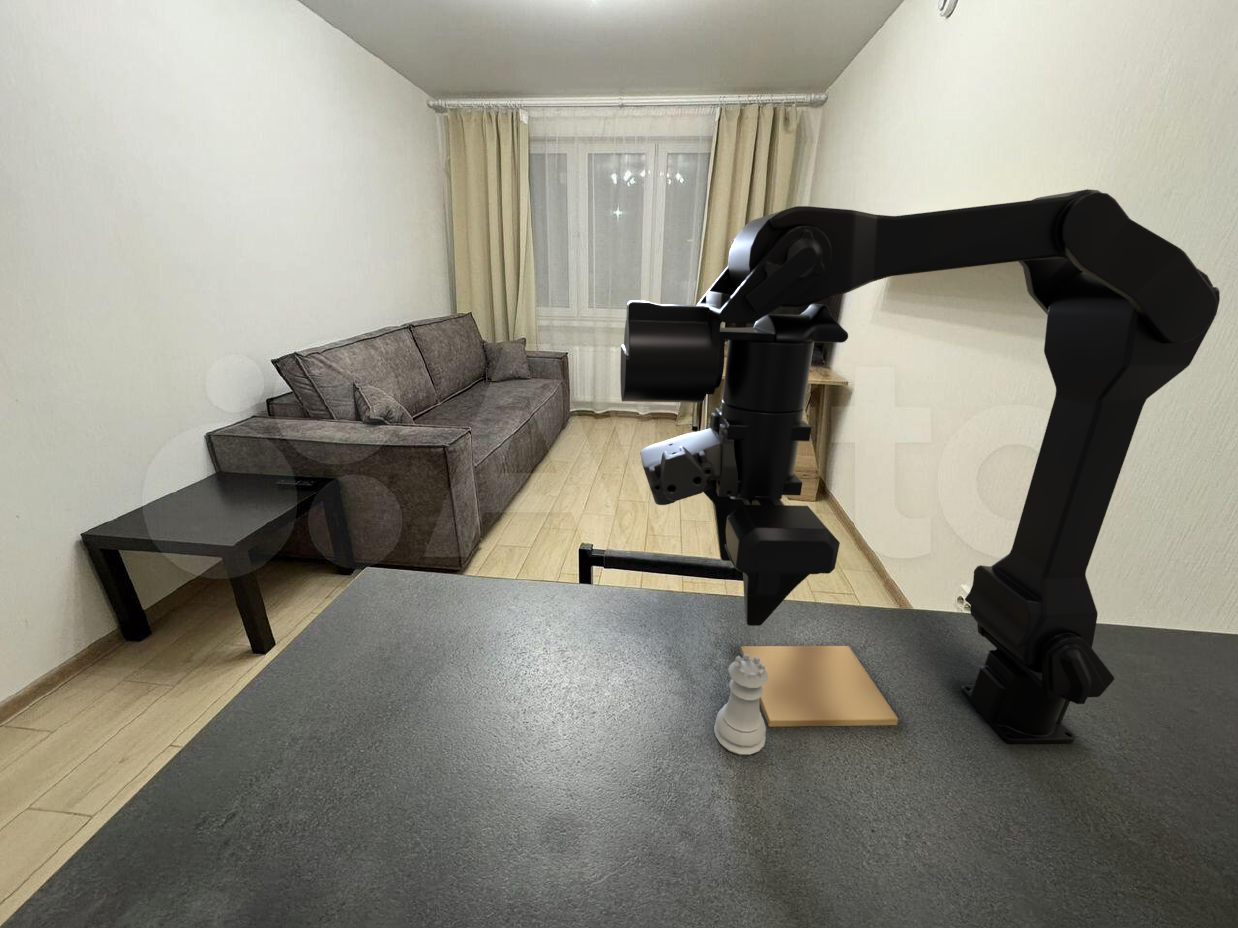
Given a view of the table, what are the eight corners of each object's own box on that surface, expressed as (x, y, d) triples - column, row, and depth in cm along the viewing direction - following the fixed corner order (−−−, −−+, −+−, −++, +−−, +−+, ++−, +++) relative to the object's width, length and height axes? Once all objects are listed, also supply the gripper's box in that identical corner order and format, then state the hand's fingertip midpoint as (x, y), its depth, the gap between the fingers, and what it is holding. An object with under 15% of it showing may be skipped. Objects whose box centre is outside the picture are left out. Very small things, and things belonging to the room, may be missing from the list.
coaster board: (847, 651, 57) (848, 645, 57) (897, 725, 48) (898, 718, 48) (739, 651, 57) (740, 645, 56) (768, 727, 47) (769, 720, 47)
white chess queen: (766, 763, 44) (779, 688, 41) (712, 752, 45) (721, 678, 42) (763, 721, 48) (775, 650, 45) (714, 712, 49) (722, 642, 46)
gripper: (642, 376, 46) (635, 533, 51) (664, 440, 29) (649, 669, 34) (767, 379, 46) (747, 535, 52) (864, 444, 29) (818, 670, 34)
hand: (738, 588), depth 43 cm, fingers open, 9 cm apart
